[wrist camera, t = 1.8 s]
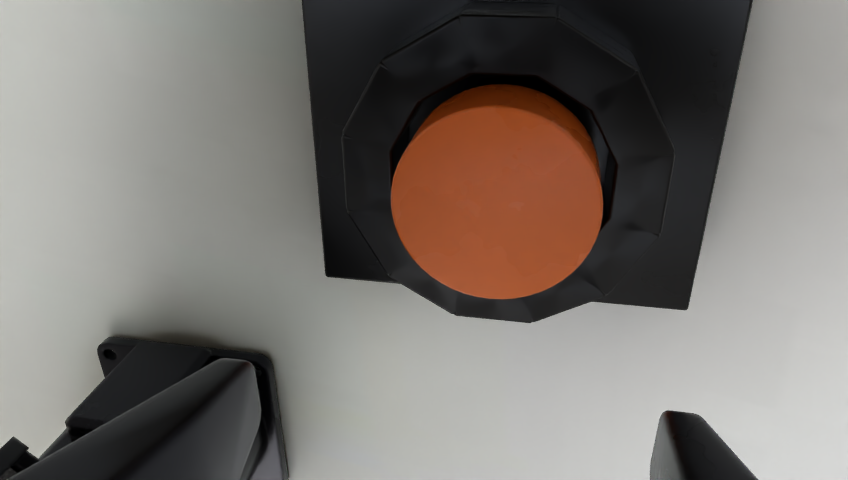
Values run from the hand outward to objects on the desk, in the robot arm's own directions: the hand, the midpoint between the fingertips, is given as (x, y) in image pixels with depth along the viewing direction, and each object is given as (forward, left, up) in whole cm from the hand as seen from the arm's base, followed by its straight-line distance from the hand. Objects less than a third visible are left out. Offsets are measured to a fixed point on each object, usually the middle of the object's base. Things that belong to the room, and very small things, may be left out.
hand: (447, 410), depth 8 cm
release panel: (0, 0, -11) cm, 11 cm away
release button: (0, 0, -8) cm, 8 cm away
